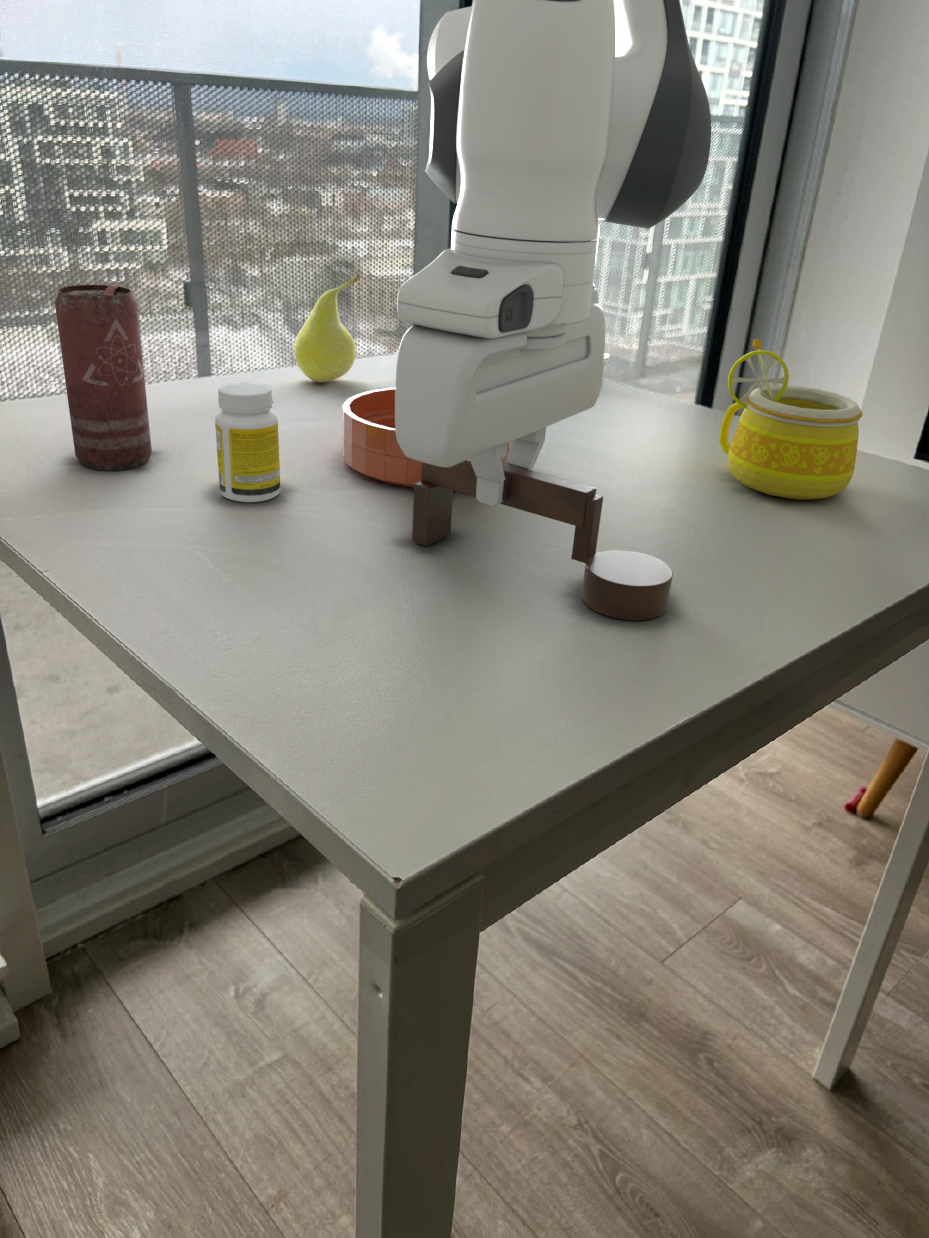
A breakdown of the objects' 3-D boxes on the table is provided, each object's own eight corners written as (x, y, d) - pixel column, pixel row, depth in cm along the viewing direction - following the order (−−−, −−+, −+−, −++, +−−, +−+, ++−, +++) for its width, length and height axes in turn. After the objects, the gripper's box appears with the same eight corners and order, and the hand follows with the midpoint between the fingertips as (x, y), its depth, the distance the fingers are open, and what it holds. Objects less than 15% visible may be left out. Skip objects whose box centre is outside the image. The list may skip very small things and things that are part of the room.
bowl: (411, 429, 94) (413, 378, 91) (543, 463, 87) (548, 409, 84) (307, 464, 82) (306, 408, 80) (449, 507, 75) (452, 446, 73)
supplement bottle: (293, 493, 76) (290, 389, 72) (250, 508, 72) (244, 400, 68) (250, 479, 78) (245, 377, 74) (207, 493, 75) (199, 387, 71)
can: (164, 451, 83) (149, 285, 77) (134, 475, 77) (116, 297, 71) (97, 445, 83) (77, 279, 77) (63, 468, 78) (38, 291, 71)
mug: (868, 490, 85) (905, 356, 80) (811, 516, 78) (846, 371, 73) (744, 453, 93) (770, 329, 88) (682, 474, 86) (705, 340, 81)
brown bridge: (680, 598, 63) (698, 502, 59) (645, 629, 58) (662, 527, 55) (445, 524, 72) (450, 437, 68) (400, 546, 67) (403, 455, 64)
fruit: (300, 372, 112) (298, 265, 106) (363, 376, 112) (365, 270, 106) (289, 385, 106) (286, 273, 100) (355, 390, 106) (356, 278, 100)
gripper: (557, 264, 67) (539, 451, 73) (377, 293, 52) (374, 526, 58) (638, 276, 64) (611, 470, 70) (473, 310, 49) (458, 554, 55)
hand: (503, 496), depth 64 cm, fingers closed on brown bridge
